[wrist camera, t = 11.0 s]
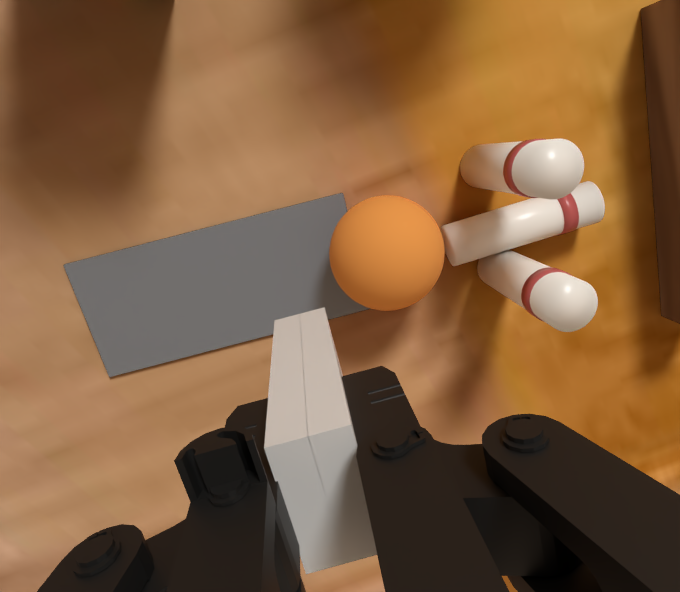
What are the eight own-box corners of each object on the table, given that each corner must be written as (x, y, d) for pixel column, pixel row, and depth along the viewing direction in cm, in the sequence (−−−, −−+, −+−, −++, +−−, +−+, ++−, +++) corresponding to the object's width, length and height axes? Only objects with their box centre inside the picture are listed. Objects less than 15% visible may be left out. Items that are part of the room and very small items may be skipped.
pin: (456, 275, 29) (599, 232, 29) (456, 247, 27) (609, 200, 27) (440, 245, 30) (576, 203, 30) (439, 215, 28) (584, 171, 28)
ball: (410, 321, 23) (461, 308, 27) (412, 185, 22) (463, 196, 27) (306, 312, 26) (367, 301, 31) (305, 194, 25) (368, 202, 30)
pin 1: (463, 193, 29) (530, 207, 21) (455, 149, 28) (521, 146, 20) (504, 182, 29) (588, 192, 21) (498, 138, 28) (581, 130, 20)
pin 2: (480, 291, 31) (547, 339, 22) (473, 251, 30) (540, 286, 22) (519, 280, 31) (601, 324, 22) (513, 241, 30) (595, 271, 22)
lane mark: (110, 375, 30) (109, 377, 30) (64, 264, 28) (63, 265, 28) (370, 307, 30) (370, 308, 30) (342, 192, 28) (342, 192, 28)
